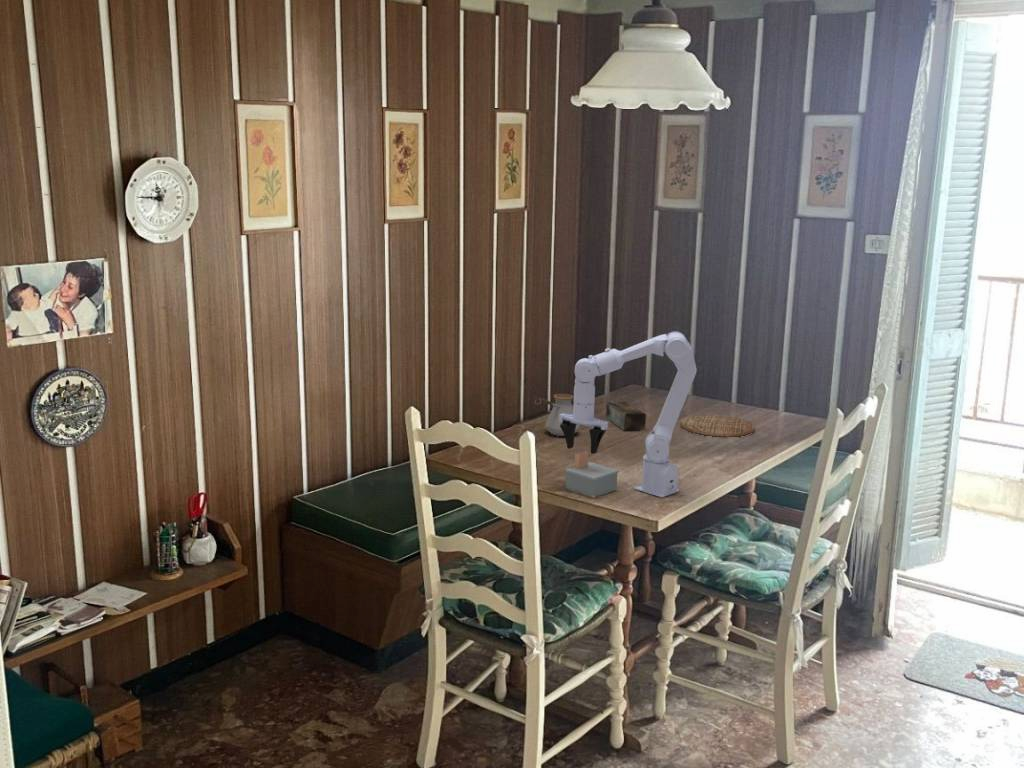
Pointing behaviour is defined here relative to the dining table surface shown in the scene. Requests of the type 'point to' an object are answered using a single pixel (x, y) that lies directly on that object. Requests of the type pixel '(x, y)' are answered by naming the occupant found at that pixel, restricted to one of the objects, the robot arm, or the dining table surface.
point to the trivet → (717, 425)
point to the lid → (589, 468)
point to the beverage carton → (625, 416)
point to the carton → (591, 485)
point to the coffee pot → (558, 413)
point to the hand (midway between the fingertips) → (582, 450)
